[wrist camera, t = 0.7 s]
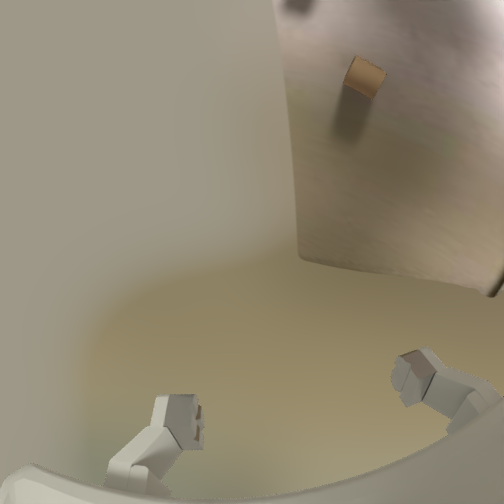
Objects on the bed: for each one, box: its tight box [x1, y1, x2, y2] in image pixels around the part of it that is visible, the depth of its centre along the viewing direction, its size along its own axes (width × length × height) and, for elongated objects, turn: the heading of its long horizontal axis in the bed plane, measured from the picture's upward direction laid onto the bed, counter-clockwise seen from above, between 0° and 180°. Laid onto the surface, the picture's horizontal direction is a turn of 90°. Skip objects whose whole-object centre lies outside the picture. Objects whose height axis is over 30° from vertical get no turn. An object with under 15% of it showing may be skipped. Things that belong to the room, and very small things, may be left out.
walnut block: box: [343, 55, 387, 100], centre depth 34 cm, size 5×5×11 cm
